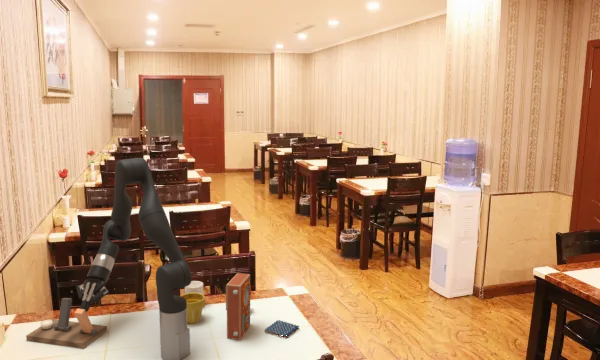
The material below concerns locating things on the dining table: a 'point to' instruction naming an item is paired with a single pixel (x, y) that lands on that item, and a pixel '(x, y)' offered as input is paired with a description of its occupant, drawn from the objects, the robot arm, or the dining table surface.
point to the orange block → (84, 320)
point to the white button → (46, 324)
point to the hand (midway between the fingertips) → (82, 312)
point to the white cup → (194, 287)
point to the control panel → (238, 306)
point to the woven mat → (281, 329)
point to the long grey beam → (64, 313)
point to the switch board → (67, 335)
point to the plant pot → (194, 306)
